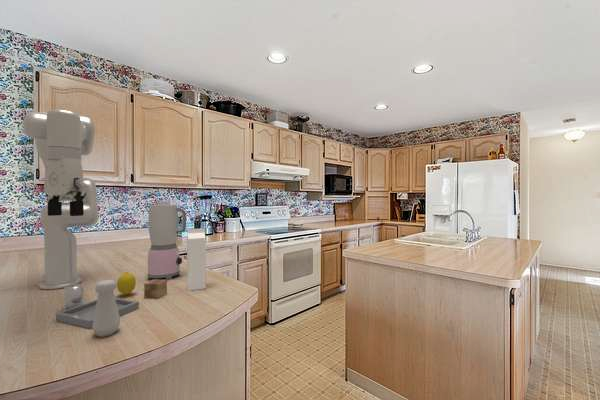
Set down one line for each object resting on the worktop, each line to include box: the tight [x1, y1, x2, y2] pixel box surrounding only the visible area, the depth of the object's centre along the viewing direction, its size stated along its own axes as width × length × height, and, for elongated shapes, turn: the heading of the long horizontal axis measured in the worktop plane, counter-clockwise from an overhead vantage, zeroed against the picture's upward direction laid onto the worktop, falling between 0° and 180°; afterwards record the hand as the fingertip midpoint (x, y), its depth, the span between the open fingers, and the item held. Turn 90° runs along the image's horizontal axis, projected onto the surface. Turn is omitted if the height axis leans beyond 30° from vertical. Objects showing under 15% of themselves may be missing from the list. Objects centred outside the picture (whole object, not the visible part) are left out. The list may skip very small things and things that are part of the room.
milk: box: [186, 227, 207, 292], centre depth 105 cm, size 6×6×22 cm
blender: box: [147, 201, 187, 281], centre depth 118 cm, size 16×12×32 cm
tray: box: [55, 297, 140, 330], centre depth 81 cm, size 14×14×2 cm
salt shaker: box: [91, 279, 121, 338], centre depth 70 cm, size 6×6×13 cm
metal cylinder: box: [64, 283, 85, 311], centre depth 85 cm, size 4×4×7 cm
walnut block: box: [143, 278, 168, 300], centre depth 96 cm, size 5×5×5 cm
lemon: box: [116, 271, 137, 296], centre depth 96 cm, size 6×6×8 cm
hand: (65, 215), depth 79 cm, fingers open, 9 cm apart
